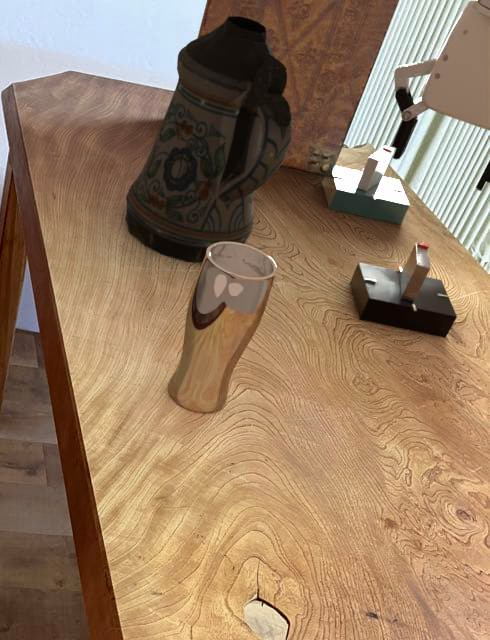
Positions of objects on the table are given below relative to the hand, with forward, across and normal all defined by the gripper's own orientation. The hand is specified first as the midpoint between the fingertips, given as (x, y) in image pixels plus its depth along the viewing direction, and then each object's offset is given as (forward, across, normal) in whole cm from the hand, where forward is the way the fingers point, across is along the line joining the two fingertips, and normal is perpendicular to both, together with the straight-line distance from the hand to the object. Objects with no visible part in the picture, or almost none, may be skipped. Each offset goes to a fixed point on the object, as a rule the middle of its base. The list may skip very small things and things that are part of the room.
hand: (438, 171), depth 100 cm
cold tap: (+14, +10, -29) cm, 34 cm away
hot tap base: (+17, -2, 0) cm, 17 cm away
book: (+17, +29, -35) cm, 49 cm away
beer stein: (+17, +25, +2) cm, 30 cm away
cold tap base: (+17, +10, -29) cm, 35 cm away
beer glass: (+17, +11, +35) cm, 40 cm away
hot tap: (+14, -2, 0) cm, 14 cm away
